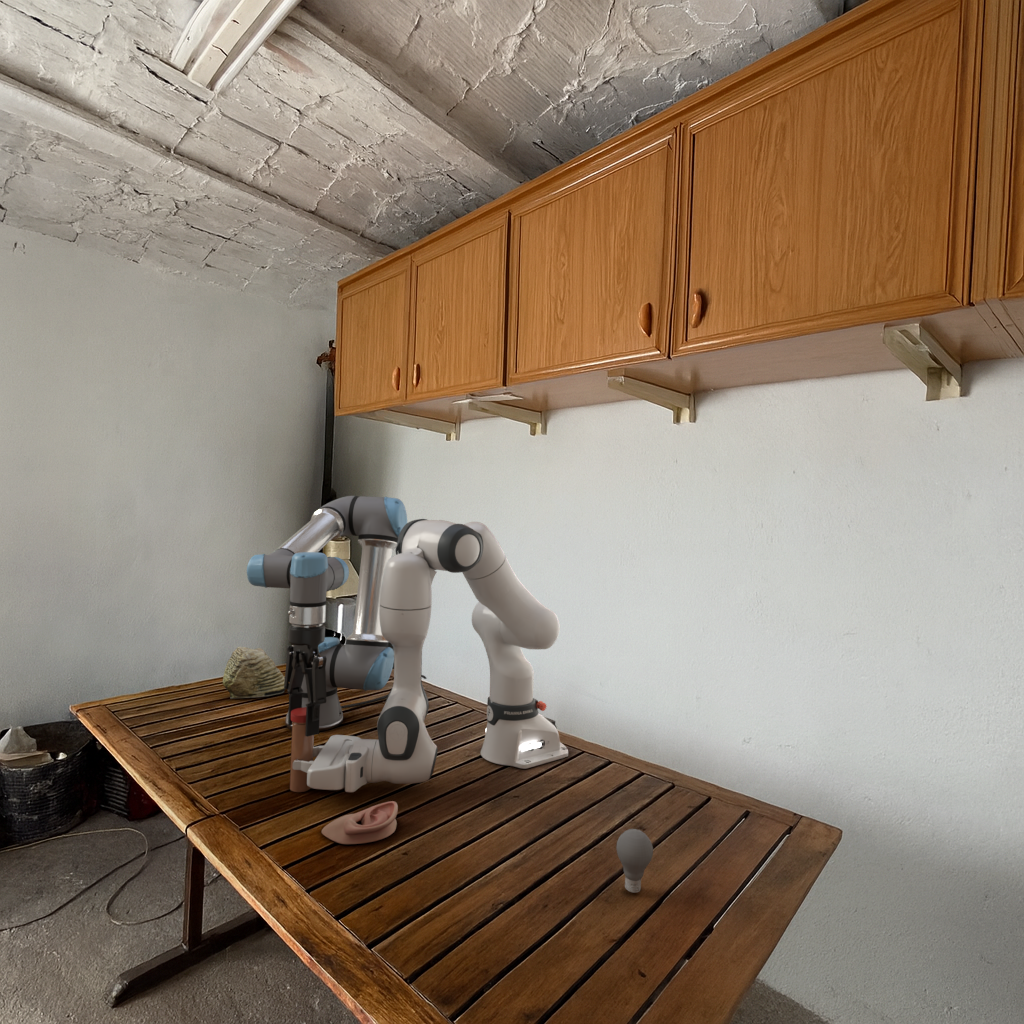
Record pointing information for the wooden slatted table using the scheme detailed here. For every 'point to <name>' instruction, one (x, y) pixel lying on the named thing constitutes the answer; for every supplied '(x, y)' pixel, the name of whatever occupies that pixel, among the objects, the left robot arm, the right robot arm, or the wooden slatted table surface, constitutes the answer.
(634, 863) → the light bulb
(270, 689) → the fossil
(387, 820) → the anatomical model
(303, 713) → the lid
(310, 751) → the jar
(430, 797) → the wooden slatted table surface
